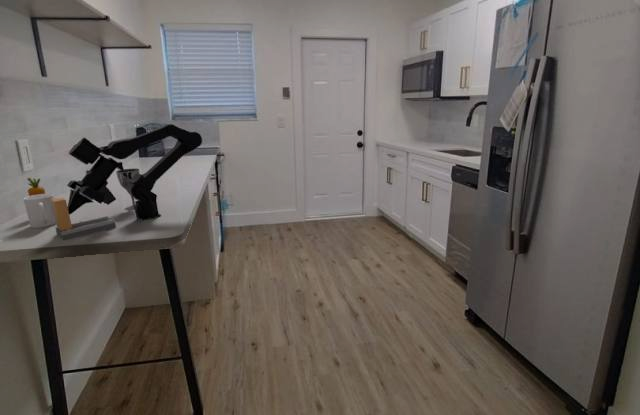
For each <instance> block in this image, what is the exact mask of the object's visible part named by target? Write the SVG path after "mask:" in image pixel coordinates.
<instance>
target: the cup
mask: <svg viewBox="0 0 640 415" xmlns="http://www.w3.org/2000/svg"><path fill="white" fill-rule="evenodd" d="M51 199H55V197H54V194H52V193H45V194H38V195H32V196H29V195H28V196H26V197H23V200H22V201H23V202H24V203H23V204H24V206H25V210H26V213H27V214H26V215H27V218H28V222H29V225H30V227H31V228H34V229H41V228H48V227H53V226H55V225H57V224H56V220H55V216H54V212H53V208H52V204H51Z"/></svg>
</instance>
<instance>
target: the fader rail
mask: <svg viewBox="0 0 640 415" xmlns="http://www.w3.org/2000/svg"><path fill="white" fill-rule="evenodd" d="M71 224H72V227H73V228H74V229H68V230H66V231H62V232H61V233H59V232H58V231H57V230H56V228H57V226H56V227H55V233H56V235H57V236H58V237H59V238H61V239H62V240H63V241H65V240H70V239H74V238H78V237H82V236H86V235H90V234H95V233H98V232H102V231H107V230H110V229H115V228H117V225H116V222H115V219H109V218H108V215H105V216H101V217H95V218H93V219H92V218H91V219H88V220H82V221H78V222H73V223H71Z"/></svg>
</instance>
